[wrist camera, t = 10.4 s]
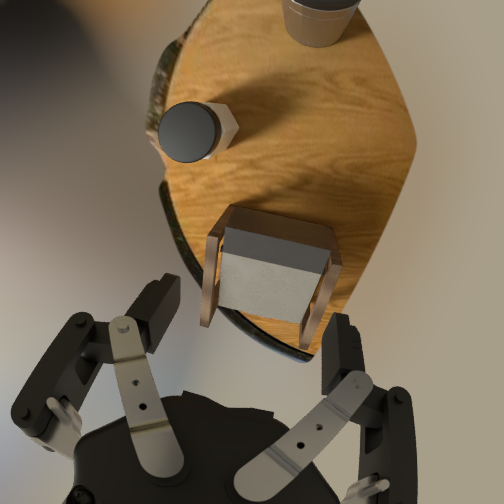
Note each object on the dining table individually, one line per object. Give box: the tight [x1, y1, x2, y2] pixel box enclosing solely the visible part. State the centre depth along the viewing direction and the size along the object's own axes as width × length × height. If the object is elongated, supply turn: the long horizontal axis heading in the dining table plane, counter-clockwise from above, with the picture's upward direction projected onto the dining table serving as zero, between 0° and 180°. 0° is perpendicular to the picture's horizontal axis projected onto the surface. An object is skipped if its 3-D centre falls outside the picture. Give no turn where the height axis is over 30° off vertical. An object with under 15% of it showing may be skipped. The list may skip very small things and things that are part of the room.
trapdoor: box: [218, 207, 331, 324], centre depth 41 cm, size 18×15×5 cm
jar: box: [158, 101, 239, 163], centre depth 37 cm, size 9×8×12 cm
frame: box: [200, 205, 342, 350], centre depth 46 cm, size 17×18×13 cm
